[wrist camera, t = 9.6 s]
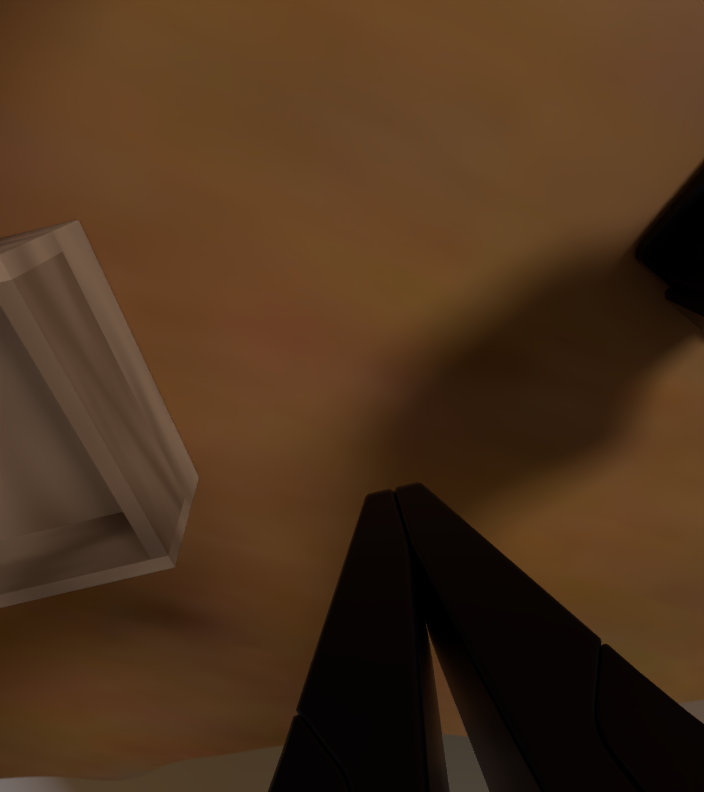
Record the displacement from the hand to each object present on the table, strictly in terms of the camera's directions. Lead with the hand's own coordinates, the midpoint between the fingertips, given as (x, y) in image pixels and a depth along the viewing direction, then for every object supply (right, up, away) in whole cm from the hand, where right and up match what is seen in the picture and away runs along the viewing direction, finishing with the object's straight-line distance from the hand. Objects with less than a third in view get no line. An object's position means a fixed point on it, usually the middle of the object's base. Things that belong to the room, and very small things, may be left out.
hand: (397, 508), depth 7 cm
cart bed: (-13, +2, +11) cm, 18 cm away
